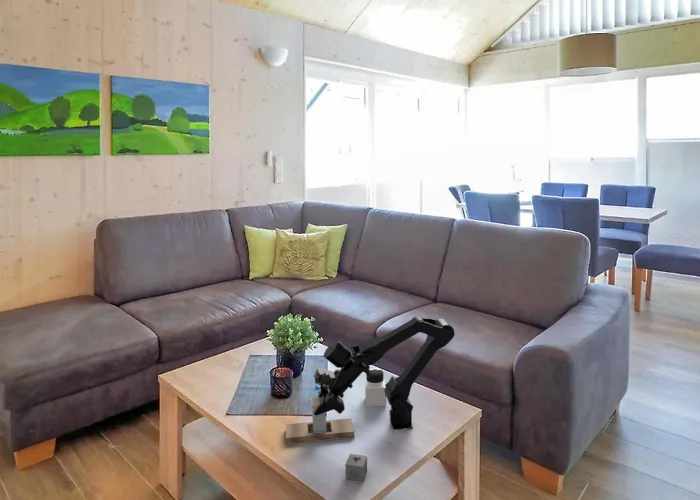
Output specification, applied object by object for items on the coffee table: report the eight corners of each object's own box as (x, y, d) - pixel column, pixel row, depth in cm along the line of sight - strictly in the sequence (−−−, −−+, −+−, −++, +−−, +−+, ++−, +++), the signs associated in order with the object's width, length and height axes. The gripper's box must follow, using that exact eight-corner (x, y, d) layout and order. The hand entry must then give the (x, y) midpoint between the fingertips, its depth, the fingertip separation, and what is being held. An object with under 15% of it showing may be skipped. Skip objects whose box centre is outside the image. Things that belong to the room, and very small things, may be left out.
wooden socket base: (351, 423, 175) (351, 418, 174) (354, 437, 167) (354, 431, 166) (286, 429, 172) (286, 424, 172) (286, 443, 165) (285, 438, 164)
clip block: (325, 424, 172) (324, 396, 169) (327, 432, 167) (325, 403, 165) (312, 426, 171) (310, 398, 169) (313, 433, 167) (311, 405, 165)
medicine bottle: (386, 406, 185) (385, 375, 182) (365, 407, 185) (364, 375, 182) (385, 396, 192) (384, 366, 189) (365, 397, 192) (364, 366, 189)
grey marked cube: (367, 471, 150) (367, 455, 149) (363, 482, 145) (362, 466, 144) (350, 469, 151) (349, 453, 150) (345, 480, 147) (345, 464, 145)
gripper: (325, 348, 174) (293, 383, 175) (332, 373, 156) (296, 411, 157) (349, 368, 177) (318, 402, 177) (359, 395, 159) (324, 432, 159)
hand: (314, 411), depth 168 cm, fingers closed on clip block, 4 cm apart
